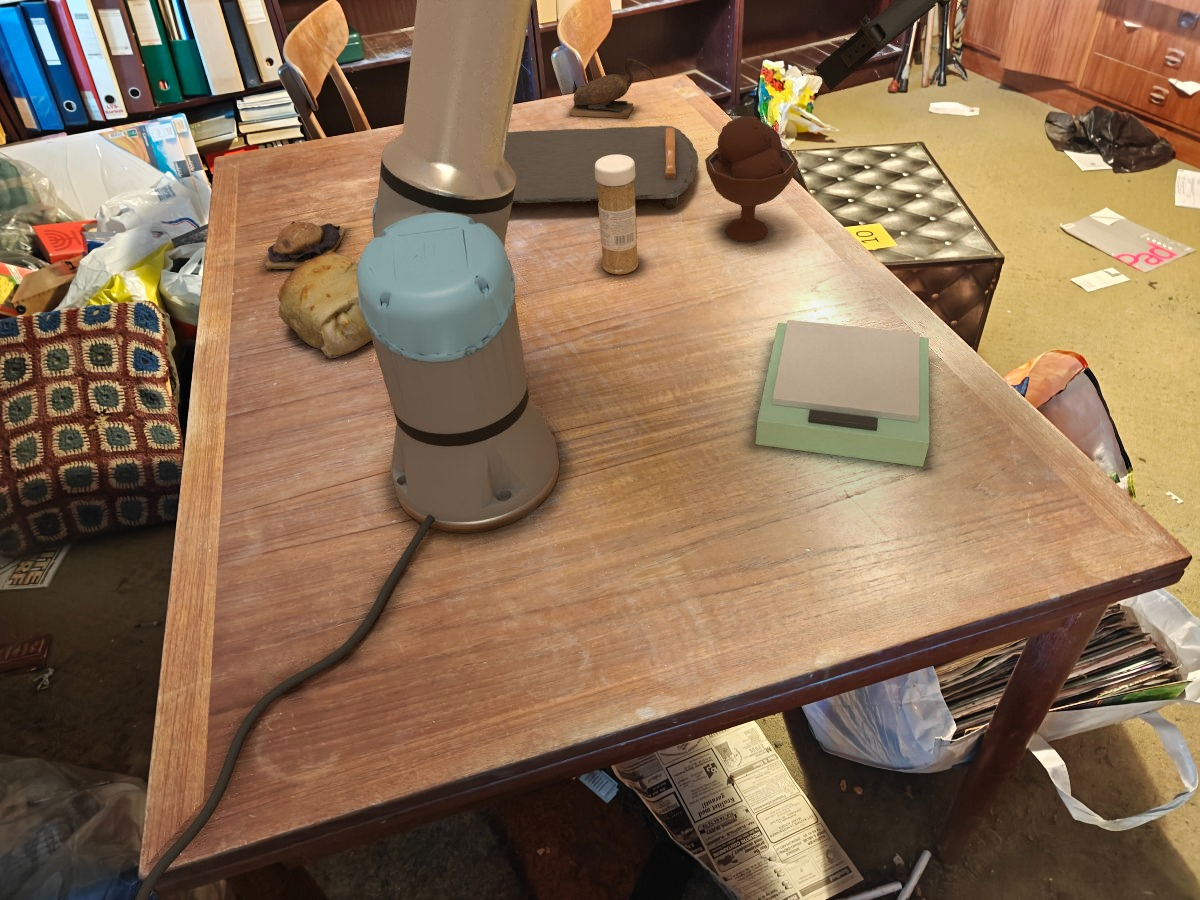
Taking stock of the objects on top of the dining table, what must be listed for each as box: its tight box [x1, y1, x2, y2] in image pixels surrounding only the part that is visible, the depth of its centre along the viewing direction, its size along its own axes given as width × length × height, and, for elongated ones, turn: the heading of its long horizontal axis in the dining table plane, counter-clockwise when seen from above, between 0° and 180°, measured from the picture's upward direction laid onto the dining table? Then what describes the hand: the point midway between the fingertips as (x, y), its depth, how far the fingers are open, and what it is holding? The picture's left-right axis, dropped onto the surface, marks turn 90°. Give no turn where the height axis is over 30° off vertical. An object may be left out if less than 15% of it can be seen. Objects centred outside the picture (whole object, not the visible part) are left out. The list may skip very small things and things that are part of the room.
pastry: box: [277, 251, 373, 359], centre depth 97 cm, size 14×12×8 cm
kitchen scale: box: [754, 319, 931, 468], centre depth 83 cm, size 16×15×4 cm
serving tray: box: [504, 125, 699, 210], centre depth 121 cm, size 39×23×6 cm, turn 87°
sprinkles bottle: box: [595, 155, 639, 275], centre depth 101 cm, size 5×5×13 cm
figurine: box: [569, 57, 656, 119], centre depth 138 cm, size 14×4×9 cm, turn 74°
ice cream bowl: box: [704, 115, 799, 243], centre depth 104 cm, size 11×11×15 cm
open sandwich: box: [265, 221, 346, 270], centre depth 112 cm, size 11×8×4 cm
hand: (851, 57), depth 89 cm, fingers open, 13 cm apart
